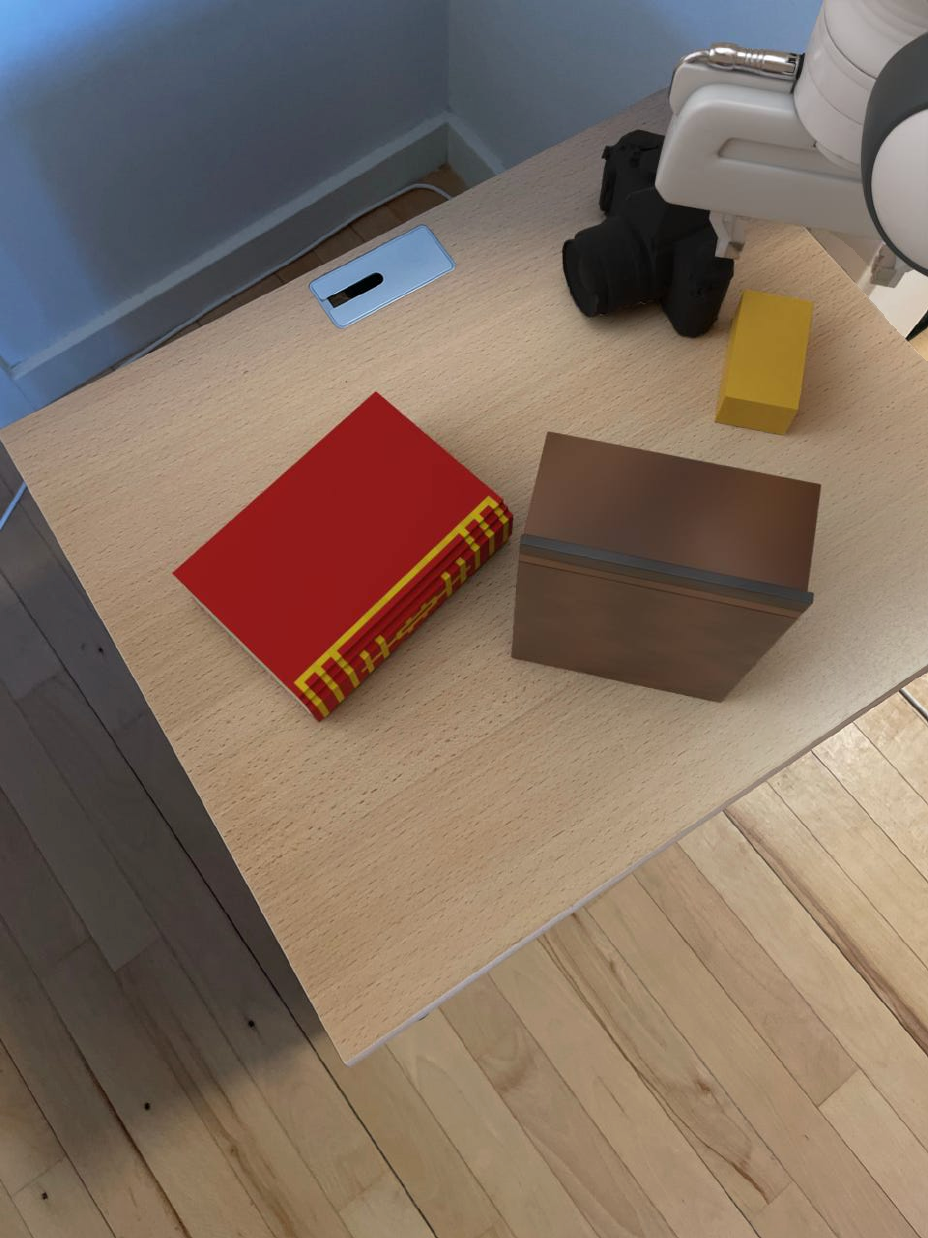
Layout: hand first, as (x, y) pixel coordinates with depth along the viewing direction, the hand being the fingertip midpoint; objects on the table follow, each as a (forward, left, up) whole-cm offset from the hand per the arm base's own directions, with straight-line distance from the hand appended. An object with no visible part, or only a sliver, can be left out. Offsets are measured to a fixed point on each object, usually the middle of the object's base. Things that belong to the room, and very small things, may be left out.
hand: (804, 263), depth 60 cm
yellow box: (0, 0, -12) cm, 12 cm away
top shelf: (+6, +21, +5) cm, 23 cm away
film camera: (+10, -6, -13) cm, 17 cm away
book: (+25, +21, -13) cm, 35 cm away
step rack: (+6, +19, -12) cm, 23 cm away
